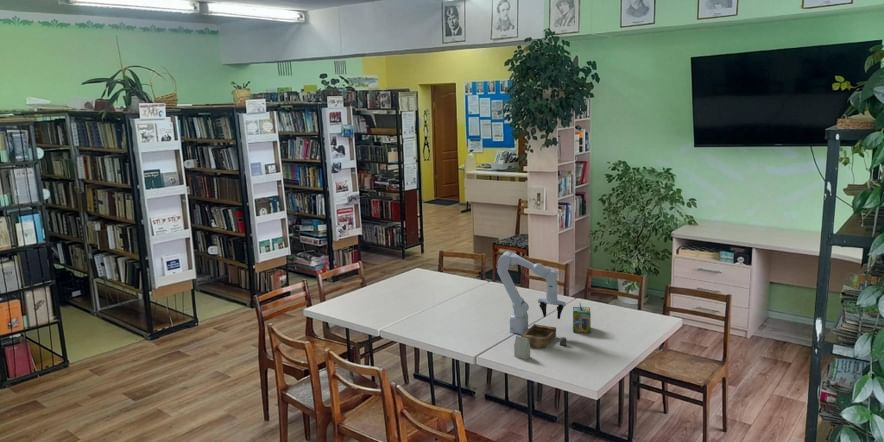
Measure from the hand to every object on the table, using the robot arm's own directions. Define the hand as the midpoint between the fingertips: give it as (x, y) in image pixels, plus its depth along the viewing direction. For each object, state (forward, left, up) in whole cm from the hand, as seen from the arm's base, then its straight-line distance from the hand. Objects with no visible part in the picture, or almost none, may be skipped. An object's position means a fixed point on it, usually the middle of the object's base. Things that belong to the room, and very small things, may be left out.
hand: (551, 317), depth 320 cm
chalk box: (+12, +13, -10) cm, 20 cm away
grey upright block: (-3, -33, -10) cm, 35 cm away
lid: (+10, -11, -10) cm, 18 cm away
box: (-3, -11, -9) cm, 15 cm away
